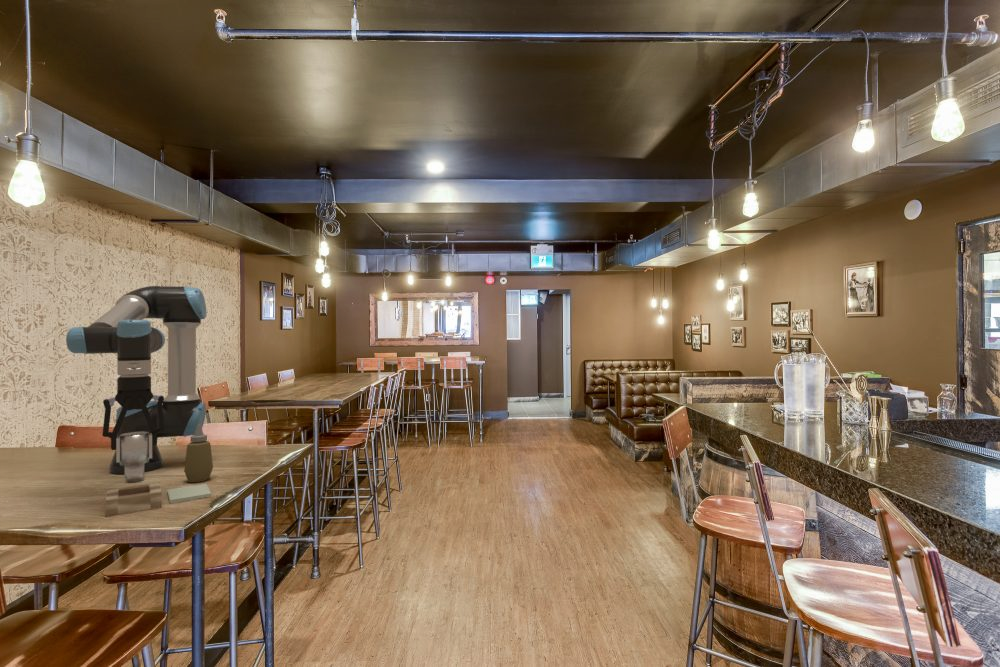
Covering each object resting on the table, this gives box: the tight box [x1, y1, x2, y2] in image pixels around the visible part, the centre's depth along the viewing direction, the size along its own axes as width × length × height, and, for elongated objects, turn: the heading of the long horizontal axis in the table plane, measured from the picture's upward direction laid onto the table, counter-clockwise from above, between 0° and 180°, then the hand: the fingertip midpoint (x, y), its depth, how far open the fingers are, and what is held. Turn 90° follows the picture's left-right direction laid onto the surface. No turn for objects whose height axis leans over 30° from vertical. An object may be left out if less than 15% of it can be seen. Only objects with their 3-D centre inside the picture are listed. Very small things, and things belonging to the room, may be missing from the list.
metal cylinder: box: [120, 432, 149, 485], centre depth 138 cm, size 6×6×13 cm
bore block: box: [105, 481, 163, 517], centre depth 138 cm, size 12×12×4 cm
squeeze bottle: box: [183, 424, 214, 483], centre depth 162 cm, size 8×8×18 cm
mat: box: [166, 483, 212, 504], centre depth 147 cm, size 12×10×1 cm
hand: (134, 459), depth 138 cm, fingers closed on metal cylinder, 6 cm apart
